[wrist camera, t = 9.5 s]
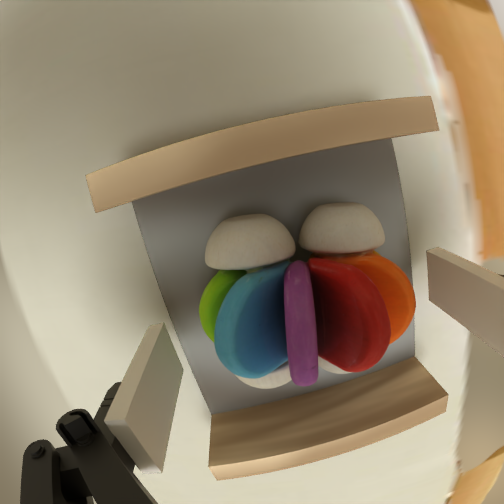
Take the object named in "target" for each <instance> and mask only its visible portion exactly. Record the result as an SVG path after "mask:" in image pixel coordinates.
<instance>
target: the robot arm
mask: <svg viewBox="0 0 504 504" xmlns="http://www.w3.org/2000/svg"><path fill="white" fill-rule="evenodd" d="M426 253H427V267H428V286H429V300H430V301H431V302H432V303H434V304H435V305H436V306H438V307H439V308H440V309H442V310H443V311H444V312H446V313H447V314H448V315H450V316H451V317H452V318H454V319H455V320H456V321H458V322H459V323H460V324H462V325H463V326H464V327H466V328H467V329H468V330H469V331H471V332H472V333H473V334H475V335H476V336H477V337H478V338H480V339H481V340H482V341H484V342H485V343H486V344H487V345H489V346H490V347H491V348H492V349H494V350H495V351H496V352H497V353H499V354H500V355H501V356H502V357H503V358H504V275H499V274H496V273H494V272H492V271H490V270H488V269H486V268H483V267H481V266H479V265H477V264H475V263H473V262H471V261H468V260H466V259H464V258H462V257H460V256H457V255H455V254H453V253H451V252H448V251H446V250H444V249H441V248H439V247H436V248H433V249H430V250H427V251H426ZM182 374H183V367H182V365H181V363H180V360H179V358H178V356H177V353H176V351H175V349H174V346H173V344H172V341H171V339H170V337H169V334H168V332H167V329H166V327H165V324H164V323H160V324H155V325H150V326H149V327H148V329H147V331H146V333H145V335H144V337H143V339H142V341H141V343H140V345H139V347H138V349H137V351H136V353H135V355H134V357H133V359H132V362H131V364H130V366H129V368H128V370H127V372H126V374H125V376H124V378H123V380H122V382H117V383H115V384H114V385H113V386H112V387H111V388H110V389H109V390H108V391H107V393H106V395H105V397H104V401H102V403H101V405H100V406H101V407H99V410H98V412H97V414H96V416H95V418H94V420H93V418H92V417H91V415H90V414H89V412H88V411H86V410H85V409H74V410H72V411H69V412H67V413H66V414H64V415H63V416H62V417H61V418H60V419H59V420H58V422H57V424H56V430H57V432H58V433H59V434H60V436H61V437H62V438H63V440H64V441H65V442H66V444H67V445H68V446H65V447H60V448H56V449H55V448H54V447H53V445H52V444H51V443H50V442H49V441H48V440H44V439H43V440H37V441H35V442H33V443H31V444H30V445H29V446H28V447H27V449H26V450H25V452H24V455H23V466H22V478H21V496H20V504H94V503H93V498H94V499H95V501H96V503H97V504H158V503H157V502H156V501H155V499H154V498H153V497H152V496H151V495H150V493H149V492H148V491H147V490H146V488H145V487H144V486H143V485H142V483H141V482H140V481H139V480H138V478H137V477H136V476H135V475H134V473H133V470H134V467H135V465H136V466H137V467H138V468H139V470H140V471H141V472H142V473H143V474H152V473H162V471H163V466H164V461H165V456H166V451H167V446H168V441H169V436H170V431H171V426H172V421H173V416H174V411H175V407H176V402H177V397H178V393H179V388H180V383H181V379H182ZM92 496H93V498H92Z"/></svg>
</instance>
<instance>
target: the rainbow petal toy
mask: <svg viewBox="0 0 504 504" xmlns="http://www.w3.org/2000/svg"><path fill="white" fill-rule="evenodd" d="M384 242H385V235H384V231H383V228H382V225H381V223H380V221H379V220H378V218H377V217H376V216H375V214H374V213H373V212H372V211H371V210H370V209H368V208H367V207H366V206H364V205H363V204H360V203H353V202H345V203H330V204H324V205H320V206H318V207H317V208H315V209H314V210H313V211H312V212H311V213H310V214H309V215H308V217H307V218H306V220H305V221H304V223H303V225H302V228H301V231H300V234H299V239H298V243H299V245H300V246H301V247H302V248H303V249H306V250H308V251H311V252H313V253H312V254H311V255H310V257H309V259H308V261H307V262H303V261H300V260H297V261H295V262H290V261H289V259H290V257H292V256H293V255H294V254H295V251H296V248H295V242H294V240H293V238H292V236H291V234H290V232H289V231H288V230H287V229H286V227H285V226H284V225H283V224H282V223H281V222H279V221H278V220H277V219H275V218H273V217H271V216H269V215H266V214H249V215H241V216H237V217H232V218H228V219H226V220H224V221H223V222H221V223H220V224H219V225H218V226H217V227H216V228H215V230H214V231H213V232H212V234H211V235H210V237H209V240H208V242H207V246H206V251H205V262H206V264H207V265H208V266H209V267H211V268H214V269H220V270H219V272H218V273H217V274H216V275H215V276H214V277H213V278H212V279H211V281H210V282H209V283H208V285H207V286H206V288H205V290H204V292H203V294H202V297H201V300H200V304H199V316H200V321H201V325H202V327H203V330H204V331H205V333H206V335H207V336H208V337H209V338H210V339H211V340H212V341H213V342H214V344H215V350H216V353H217V356H218V358H219V360H220V361H221V363H222V364H223V365H224V366H225V367H226V368H227V369H228V370H229V371H231V372H232V373H233V374H235V375H236V377H238V378H239V379H240V380H241V381H242V382H244V383H245V384H248V385H250V386H252V387H256V388H261V389H270V388H276V387H279V386H282V385H284V384H286V383H288V382H289V381H291V380H292V381H293V382H294V383H295V384H296V385H298V386H310V385H312V384H314V383H315V382H316V381H317V379H318V366H320V367H321V368H323V369H324V370H326V371H329V372H332V373H337V374H347V373H352V372H361V371H365V370H367V369H369V368H371V367H373V366H374V365H375V364H377V363H378V362H379V361H380V359H381V358H382V357H383V355H384V354H385V352H386V350H387V348H388V346H389V345H390V344H391V343H393V342H394V341H396V340H397V339H398V338H399V337H400V336H401V335H402V334H403V333H404V332H405V331H406V329H407V328H408V326H409V325H410V323H411V321H412V319H413V316H414V313H415V308H416V301H415V294H414V290H413V287H412V285H411V283H410V281H409V279H408V277H407V276H406V274H405V273H404V272H403V271H402V270H401V268H400V267H399V266H397V265H396V264H395V263H393V262H392V261H390V260H388V259H386V258H385V257H382V256H381V255H380V254H379V253H378V252H376V251H375V250H374V249H376V248H378V247H380V246H381V245H383V244H384Z"/></svg>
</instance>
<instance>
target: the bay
mask: <svg viewBox="0 0 504 504" xmlns="http://www.w3.org/2000/svg"><path fill="white" fill-rule="evenodd" d="M432 131H439V127H438V122H437V118H436V114H435V110H434V106H433V102H432V99H431V96H420V97H407V98H395V99H385V100H376V101H368V102H360V103H352V104H345V105H339V106H332V107H326V108H320V109H314V110H308V111H303V112H298V113H292V114H287V115H283V116H278V117H273V118H268V119H264V120H259V121H255V122H251V123H247V124H242V125H238V126H234V127H230V128H227V129H223V130H219V131H215V132H212V133H208V134H204V135H201V136H197V137H194V138H190V139H187V140H184V141H180V142H177V143H174V144H171V145H168V146H164V147H161V148H158V149H155V150H152V151H149V152H146V153H143V154H140V155H138V156H135V157H132V158H129V159H126V160H124V161H121V162H118V163H115V164H113V165H110V166H108V167H105V168H102V169H100V170H97V171H95V172H92V173H90V174H87V175H85V176H86V180H87V183H88V187H89V191H90V195H91V198H92V202H93V206H94V209H95V213H97V212H100V211H103V210H106V209H109V208H113V207H116V206H119V205H122V204H125V203H128V202H132V204H133V207H134V210H135V214H136V217H137V221H138V224H139V227H140V230H141V234H142V237H143V240H144V243H145V246H146V249H147V253H148V256H149V259H150V262H151V265H152V268H153V271H154V273H155V276H156V279H157V282H158V285H159V288H160V291H161V293H162V296H163V299H164V302H165V304H166V307H167V310H168V312H169V315H170V318H171V320H172V323H173V325H174V328H175V331H176V333H177V336H178V338H179V341H180V343H181V346H182V348H183V351H184V353H185V355H186V358H187V360H188V363H189V365H190V367H191V370H192V372H193V374H194V377H195V379H196V381H197V383H198V386H199V388H200V390H201V392H202V395H203V397H204V399H205V401H206V403H207V406H208V408H209V410H210V412H211V414H212V417H211V432H210V448H209V465H208V467H209V469H210V470H211V472H212V473H213V475H214V476H215V478H216V480H225V479H233V478H240V477H246V476H252V475H258V474H263V473H268V472H273V471H278V470H283V469H287V468H292V467H296V466H300V465H304V464H308V463H312V462H316V461H319V460H323V459H326V458H330V457H333V456H337V455H340V454H343V453H346V452H349V451H352V450H355V449H358V448H361V447H364V446H367V445H370V444H372V443H375V442H378V441H380V440H383V439H386V438H388V437H391V436H393V435H396V434H398V433H401V432H403V431H405V430H408V429H410V428H412V427H414V426H417V425H419V424H421V423H423V422H425V421H428V420H430V419H432V418H434V417H436V416H438V415H440V414H442V413H444V412H446V407H447V401H448V393H447V392H446V391H445V390H444V389H443V388H442V387H441V385H440V384H439V383H438V382H437V381H436V380H435V379H434V377H433V376H432V375H431V374H430V373H429V372H428V371H427V370H426V368H425V367H424V366H423V365H422V364H421V363H420V362H419V361H418V359H417V358H416V357H415V326H414V316H413V319H412V321H411V323H410V325H409V326H408V328H407V329H406V331H405V332H404V333H403V334H402V335H401V336H400V337H399V338H398V339H397V340H396V341H394V342H393V343H391V344H390V345H389V346H388V348H387V350H386V352H385V354H384V355H383V357H382V358H381V359H380V361H379V362H378V363H377V364H375V365H374V366H373V367H371V368H369V369H367V370H365V371H361V372H352V373H347V374H337V373H332V372H329V371H326V370H324V369H323V368H321V367H320V366H318V379H317V381H316V382H315V383H314V384H312V385H310V386H298V385H296V384H295V383H294V382H293V381H292V380H291V381H289V382H288V383H286V384H284V385H282V386H279V387H276V388H270V389H261V388H256V387H252V386H250V385H248V384H245V383H244V382H242V381H241V380H240V379H239V378H238V377H236V375H235V374H233V373H232V372H231V371H229V370H228V369H227V368H226V367H225V366H224V365H223V364H222V363H221V361H220V360H219V358H218V356H217V353H216V350H215V344H214V342H213V341H212V340H211V339H210V338H209V337H208V336H207V335H206V333H205V331H204V330H203V327H202V325H201V321H200V316H199V304H200V300H201V297H202V294H203V292H204V290H205V288H206V286H207V285H208V283H209V282H210V281H211V279H212V278H213V277H214V276H215V275H216V274H217V273H218V272H219V270H220V269H214V268H211V267H209V266H208V265H207V264H206V262H205V251H206V246H207V242H208V240H209V237H210V235H211V234H212V232H213V231H214V230H215V228H216V227H217V226H218V225H219V224H220V223H221V222H223V221H224V220H226V219H228V218H232V217H237V216H241V215H249V214H266V215H269V216H271V217H273V218H275V219H277V220H278V221H279V222H281V223H282V224H283V225H284V226H285V227H286V229H287V230H288V231H289V232H290V234H291V236H292V238H293V240H294V242H295V248H296V251H295V254H294V255H293V256H292V257H290V259H289V261H290V262H295V261H297V260H300V261H303V262H307V261H308V259H309V257H310V255H311V254H312V253H313V252H311V251H308V250H306V249H303V248H302V247H301V246H300V245H299V243H298V239H299V234H300V231H301V228H302V225H303V223H304V221H305V220H306V218H307V217H308V215H309V214H310V213H311V212H312V211H313V210H314V209H315V208H317V207H318V206H320V205H324V204H330V203H345V202H353V203H360V204H363V205H364V206H366V207H367V208H368V209H370V210H371V211H372V212H373V213H374V214H375V216H376V217H377V218H378V220H379V221H380V223H381V225H382V228H383V231H384V235H385V242H384V244H383V245H381V246H380V247H378V248H376V249H374V250H375V251H376V252H378V253H379V254H380V255H381V256H382V257H385V258H386V259H388V260H390V261H392V262H393V263H395V264H396V265H397V266H399V267H400V268H401V270H402V271H403V272H404V273H405V274H406V276H407V277H408V279H409V281H410V283H411V285H412V287H413V281H412V268H411V257H410V247H409V238H408V230H407V222H406V215H405V208H404V202H403V196H402V190H401V184H400V178H399V173H398V168H397V163H396V158H395V153H394V149H393V144H392V140H391V138H394V137H400V136H406V135H412V134H418V133H425V132H432Z"/></svg>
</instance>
